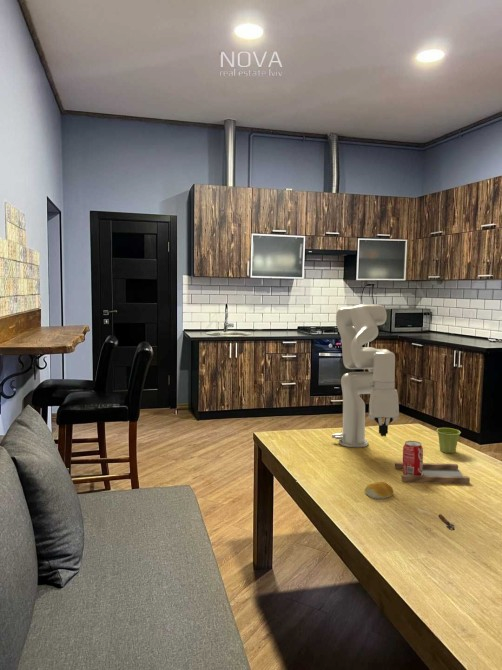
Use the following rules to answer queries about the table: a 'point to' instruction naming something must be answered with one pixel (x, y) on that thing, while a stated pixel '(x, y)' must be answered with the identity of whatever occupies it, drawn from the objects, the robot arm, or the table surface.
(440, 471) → the pad
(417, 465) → the soda can
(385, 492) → the bread roll
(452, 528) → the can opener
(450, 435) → the plant pot
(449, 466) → the walnut rails
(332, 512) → the table surface
